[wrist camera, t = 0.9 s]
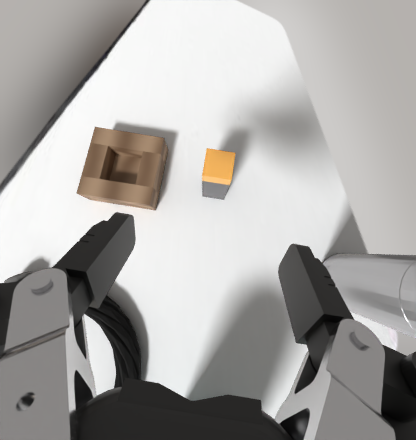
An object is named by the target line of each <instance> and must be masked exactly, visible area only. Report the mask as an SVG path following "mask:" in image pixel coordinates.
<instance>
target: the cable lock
mask: <svg viewBox="0 0 416 440" xmlns="http://www.w3.org/2000/svg"><path fill="white" fill-rule="evenodd" d="M32 273H34V272H26V273H21V274H17V275H15V276H13V277H10V278H8V279H7V280H5V281H4V283H9V282H19V281H22V280H23V279H24V278H25V277H27V276H28V275H30V274H32ZM84 314H86V315H87V316H89V317H90V318H92V319H93V320H94V321H95V322H97V323H98V324H99V325H100V326H101V328H102V330H103V331H104V333H105V335H106V336H107V338H108V340H109V341H110V344H111V346H112V348H113V353H114V360H115V366H116V379H115V386H114V388H117V387H122V386H123V383H124V380H125V378H130V379H136V380H140V375H141V356H140V348H139V344H138V341H137V337H136V333H135V331H134V329H133V327H132V325H131V323H130V321H129V319H128V318H127V317H126V315H125V314H124V313H123V312H122V310H121V309H120V307H119V306H118V305H117V304H116V303H115V302H114V301H112V300H111V299H110V298H109V297H108V296H107V295H106V296H105V298H104V300H103V301H102V303H101V305H100V307H99V308H94V307H88V309H87V310H86V312H85V313H84Z"/></svg>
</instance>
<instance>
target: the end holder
mask: <svg viewBox="0 0 416 440" xmlns="http://www.w3.org/2000/svg"><path fill="white" fill-rule="evenodd" d="M167 153H168V148H167V145H166V142H165V139H164V138H161V137H155V136H149V135H142V134H136V133H130V132H124V131H117V130H111V129H105V128H99V127H95V129H94V133H93V136H92V140H91V143H90V147H89V150H88V154H87V158H86V161H85V165H84V168H83V172H82V176H81V179H80V183H79V186H78V190H77V194H79V195H81V196H83V197H86V198H88V199H90V200H95V201H101V202H107V203H113V204H120V205H126V206H132V207H138V208H145V209H151V210H156V206H157V202H158V197H159V192H160V187H161V182H162V177H163V173H164V168H165V163H166V158H167Z"/></svg>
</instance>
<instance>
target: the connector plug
mask: <svg viewBox="0 0 416 440" xmlns="http://www.w3.org/2000/svg"><path fill="white" fill-rule="evenodd" d="M234 160H235V153H233V152H227V151H221V150H215V149H208V148H207V151H206V156H205V162H204V168H203V174H202V193H203V196H204V197H210V198H216V199H223V200H224V198H225V195H226V193H227V190H228V188H229V185H230V183H231V180H232V174H233V167H234Z"/></svg>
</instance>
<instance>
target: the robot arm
mask: <svg viewBox="0 0 416 440" xmlns="http://www.w3.org/2000/svg"><path fill="white" fill-rule="evenodd" d="M134 245H135V227H134V218H133V216H132V215H129V214H124V213H118V212H116V213H115V214H114V215H113V216H112V217H111V218H110V219H109V220H108V221H104V220H103V221H101V222H100V223H98V224H96V225H94V226H92V227H91V229H90V230H89V231H88V232H87V233H86V235H84V236H83V237H82V238H81V239H80V240H79V242H77V243H76V244H75V245H74V246H73V247H72V248H71V249H70V250H69V251H68V252H67V253H66V254H65V255H64V256H63V257H62V258H61V259H60V260H59V261H58V262H57V264H56V265H55V266H54V267H52V268H49V269H43V270H39V271H37V272H34V273H32V274H30V275H28V276H27V277H25V278H24V279H23V280H22V281H19V282H9V283H0V440H416V352H414V353H412V354H410V355H408V356H406V355H403V354H401V353H399V352H397V351H395V350H393V349H391V348H389V347H386V346H384V345H382V344H381V342H380V341H379V339H378V338H377V336H376V335H375V334H374V333H373V332H372V331H371V330H370V329H369V328H367V327H366V326H365V325H363V324H362V323H360V322H358V321H355V320H354V318H353V317H352V315H351V313H350V311H351V312H353V313H355V314H358V315H360V316H363V317H365V318H368V319H370V320H372V321H375V322H377V323H380V324H382V325H385V326H387V327H389V328H392V329H394V330H397V331H399V332H402V333H404V334H406V335H409V336H411V337H414V338H416V255H381V254H336V255H332V256H331V257H329V258H327V259H326V260H325V261H324V263H323V264H322V262H321V261H320V260H319V259H317V258H315V257H314V255H313V253H312V251H311V249H310V248H309V247H308V246H303V245H297V244H291V245H290V247H289V248H288V250H287V252H286V254H285V256H284V257H283V259H282V261H281V263H280V265H279V270H278V274H279V279H280V283H281V287H282V290H283V294H284V298H285V302H286V306H287V310H288V314H289V317H290V321H291V325H292V329H293V333H294V337H295V341H296V343H300V344H306V345H307V347H308V352H307V353H306V355H305V357H304V359H303V362H302V364H301V366H300V369H299V371H298V374H297V376H296V378H295V381H294V383H293V386H292V388H291V391H290V393H289V395H288V397H287V398H286V400H285V401H284V402H283V404H282V405H281V407H280V409H279V410H278V412H277V414H276V416H275V419H273V418H272V417H271V416H269V415H268V414H266V413H265V412H264V411H262V408H261V400H257V399H250V398H244V397H238V396H232V395H224V396H218V397H213V398H208V399H203V400H197V401H190V400H188V399H186V398H184V397H183V396H181V395H179V394H177V393H175V392H174V391H172V390H170V389H168V388H166V387H165V386H163V385H161V384H159V383H154V382H148V381H142V380H136V379H130V378H125V380H124V383H123V386H122V387H117V388H114V389H111V390H108V391H106V392H104V393H102V394H99V395H98V396H96V388H95V382H94V377H93V372H92V369H91V365H90V360H89V352H88V344H87V336H86V328H85V320H84V313H85V312H86V310H87V309H88V307H94V308H99V307H100V305H101V303H102V301H103V300H104V298H105V296H106V295H107V293H108V291H109V290H110V288H111V286H112V284H113V283H114V281H115V279H116V278H117V276H118V274H119V272H120V271H121V269H122V267H123V266H124V264H125V262H126V261H127V259H128V257H129V255H130V254H131V252H132V250H133V248H134Z"/></svg>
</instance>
